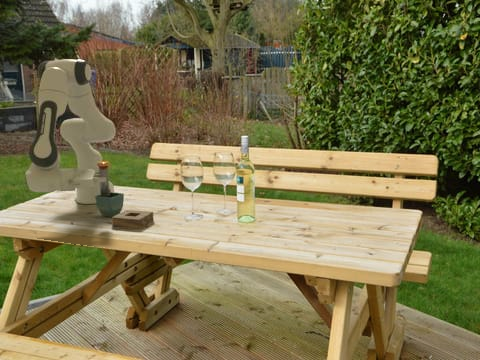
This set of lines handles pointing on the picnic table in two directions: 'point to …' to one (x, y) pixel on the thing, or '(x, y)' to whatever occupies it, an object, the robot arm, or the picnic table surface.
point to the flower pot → (110, 204)
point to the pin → (104, 173)
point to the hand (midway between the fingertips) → (106, 177)
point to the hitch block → (132, 219)
